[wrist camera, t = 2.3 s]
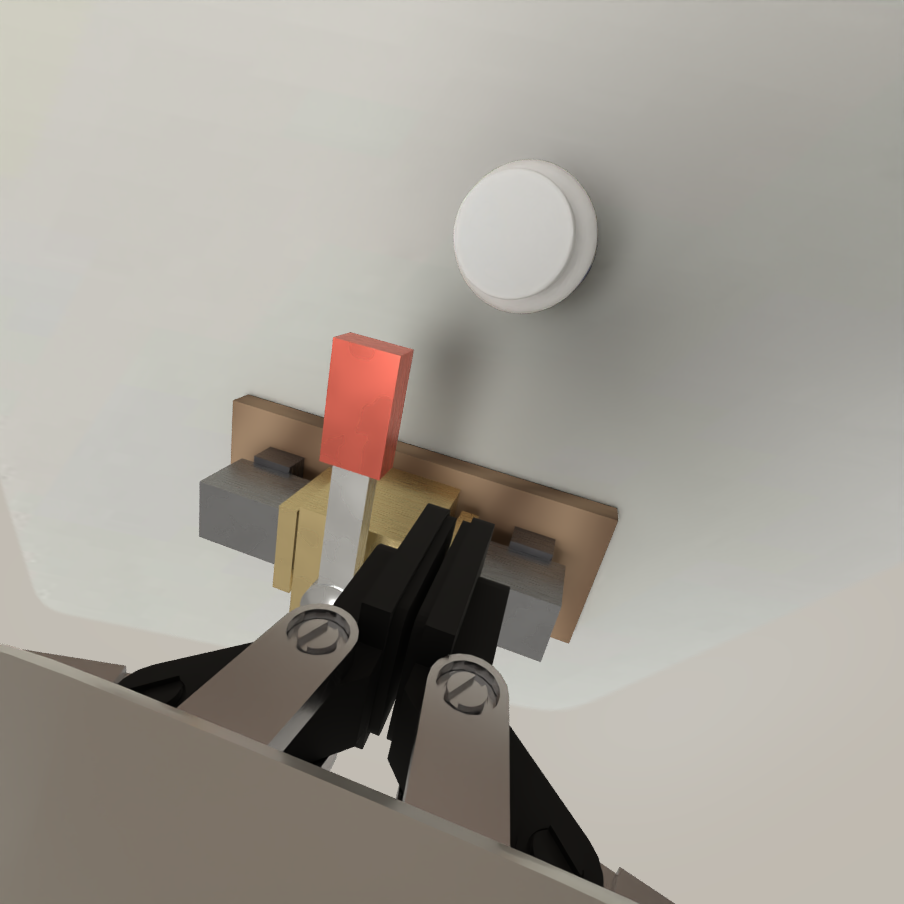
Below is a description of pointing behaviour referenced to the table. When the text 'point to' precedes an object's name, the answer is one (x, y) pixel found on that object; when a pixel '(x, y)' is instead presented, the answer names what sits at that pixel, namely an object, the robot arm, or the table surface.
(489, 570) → the valve
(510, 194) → the pill bottle
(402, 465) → the mount board
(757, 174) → the table surface
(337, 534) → the lever
